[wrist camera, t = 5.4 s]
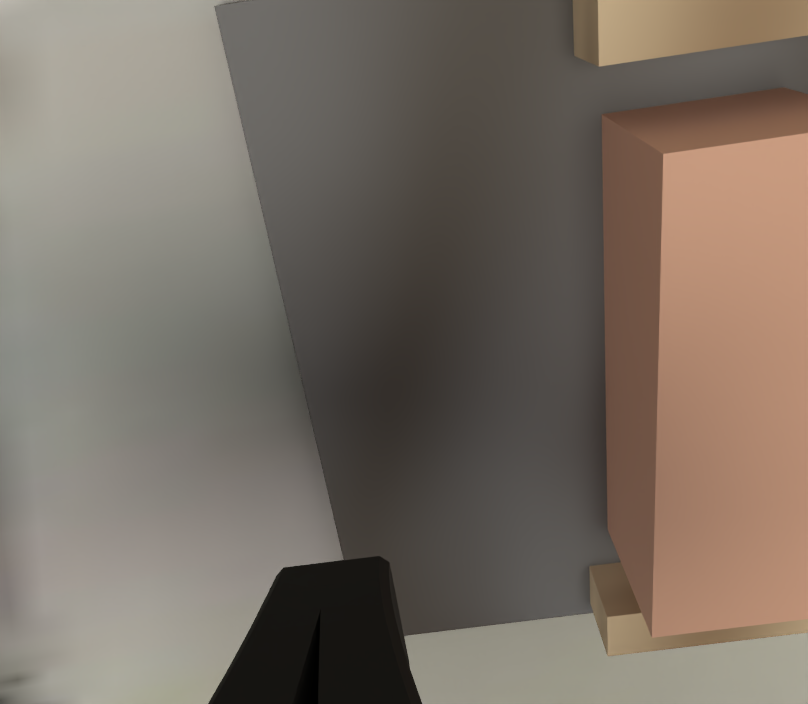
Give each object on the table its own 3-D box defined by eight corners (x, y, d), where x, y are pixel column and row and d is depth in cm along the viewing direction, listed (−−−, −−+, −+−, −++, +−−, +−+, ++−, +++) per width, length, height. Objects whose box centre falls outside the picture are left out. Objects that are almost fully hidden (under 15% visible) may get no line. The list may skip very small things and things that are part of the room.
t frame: (1461, -189, 11) (1667, -220, 9) (1153, 527, 17) (1241, 590, 16) (220, 5, 12) (192, 11, 10) (363, 624, 18) (361, 695, 16)
